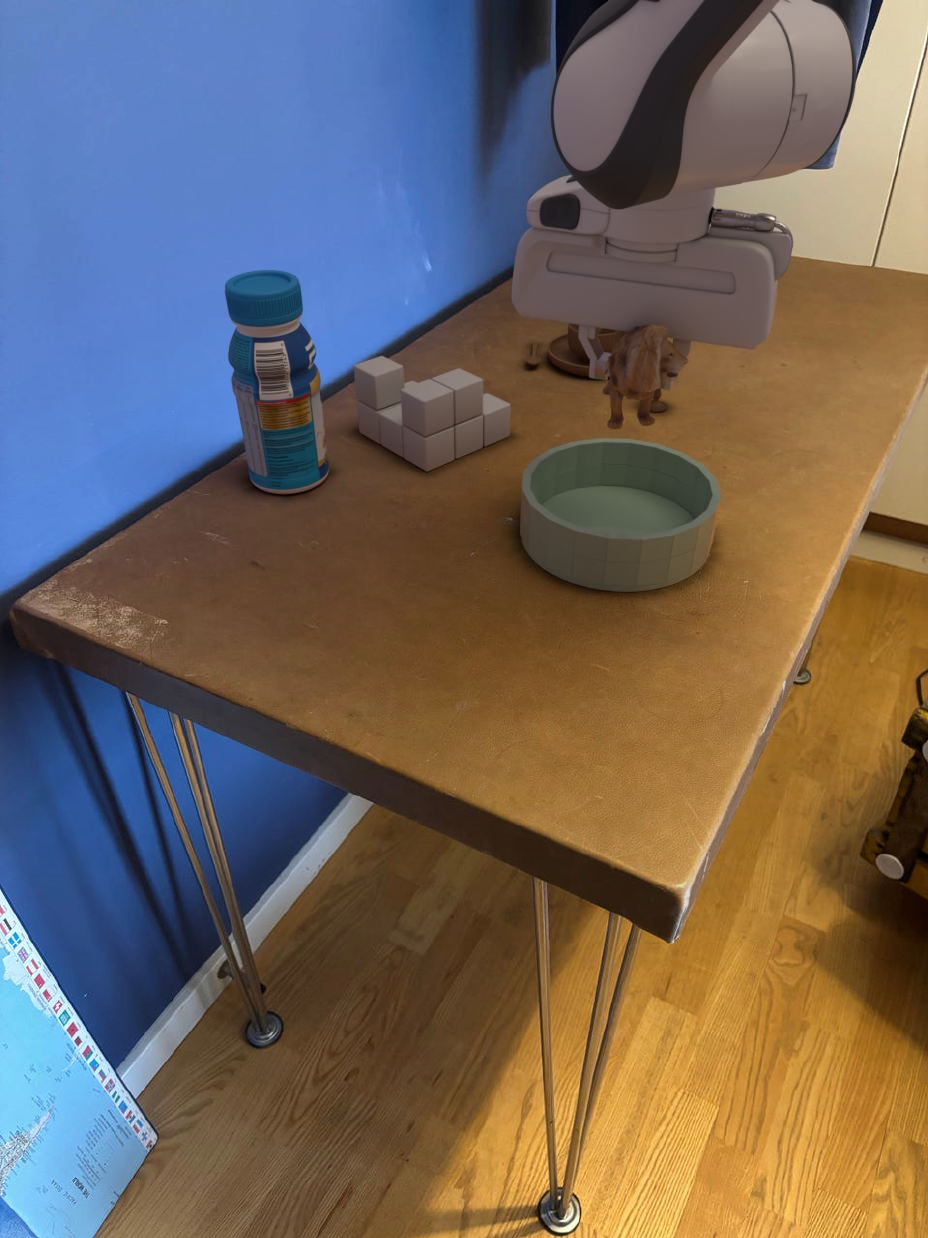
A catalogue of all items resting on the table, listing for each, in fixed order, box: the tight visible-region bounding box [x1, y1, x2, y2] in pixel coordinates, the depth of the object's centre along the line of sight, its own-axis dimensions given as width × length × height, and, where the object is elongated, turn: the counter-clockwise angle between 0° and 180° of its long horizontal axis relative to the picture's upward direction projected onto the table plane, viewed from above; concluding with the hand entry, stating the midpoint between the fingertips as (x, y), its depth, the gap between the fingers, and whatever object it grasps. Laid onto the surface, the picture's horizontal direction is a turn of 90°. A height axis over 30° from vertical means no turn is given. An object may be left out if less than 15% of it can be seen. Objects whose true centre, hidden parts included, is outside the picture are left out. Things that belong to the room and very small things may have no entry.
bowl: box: [519, 437, 723, 593], centre depth 83 cm, size 18×18×6 cm
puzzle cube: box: [353, 355, 512, 472], centre depth 99 cm, size 12×12×8 cm
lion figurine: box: [602, 324, 689, 430], centre depth 74 cm, size 15×5×9 cm, turn 3°
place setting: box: [525, 323, 668, 413], centre depth 111 cm, size 18×20×6 cm
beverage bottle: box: [224, 269, 330, 495], centre depth 88 cm, size 8×8×20 cm
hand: (630, 381), depth 75 cm, fingers closed on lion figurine, 4 cm apart
